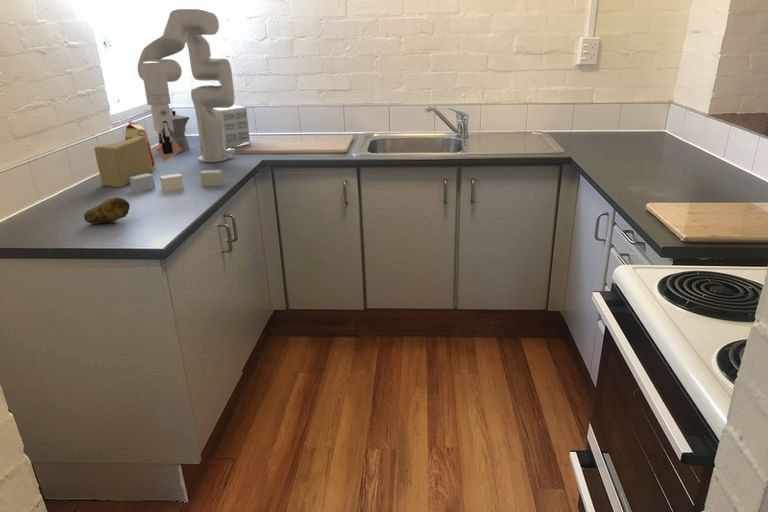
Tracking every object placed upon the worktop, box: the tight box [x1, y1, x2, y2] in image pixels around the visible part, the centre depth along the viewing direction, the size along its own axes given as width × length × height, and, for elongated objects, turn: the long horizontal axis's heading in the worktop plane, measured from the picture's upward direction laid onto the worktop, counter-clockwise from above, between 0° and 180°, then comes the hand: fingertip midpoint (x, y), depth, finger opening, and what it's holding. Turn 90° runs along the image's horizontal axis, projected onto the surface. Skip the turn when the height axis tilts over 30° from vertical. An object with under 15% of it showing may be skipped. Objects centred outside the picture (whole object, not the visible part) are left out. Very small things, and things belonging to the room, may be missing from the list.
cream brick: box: [159, 173, 185, 193], centre depth 207 cm, size 7×4×5 cm, turn 122°
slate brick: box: [130, 173, 156, 193], centre depth 207 cm, size 7×4×5 cm, turn 142°
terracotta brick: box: [153, 137, 181, 162], centre depth 202 cm, size 7×4×5 cm, turn 121°
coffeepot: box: [169, 110, 191, 153], centre depth 263 cm, size 15×9×18 cm, turn 103°
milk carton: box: [124, 120, 157, 170], centre depth 231 cm, size 9×9×20 cm
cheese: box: [93, 136, 154, 188], centre depth 218 cm, size 22×10×15 cm, turn 161°
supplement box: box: [213, 103, 251, 149], centre depth 275 cm, size 17×13×18 cm
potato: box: [83, 197, 131, 225], centre depth 173 cm, size 8×13×8 cm, turn 78°
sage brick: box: [199, 169, 224, 187], centre depth 212 cm, size 7×4×5 cm, turn 92°
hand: (166, 151), depth 202 cm, fingers closed on terracotta brick, 3 cm apart
